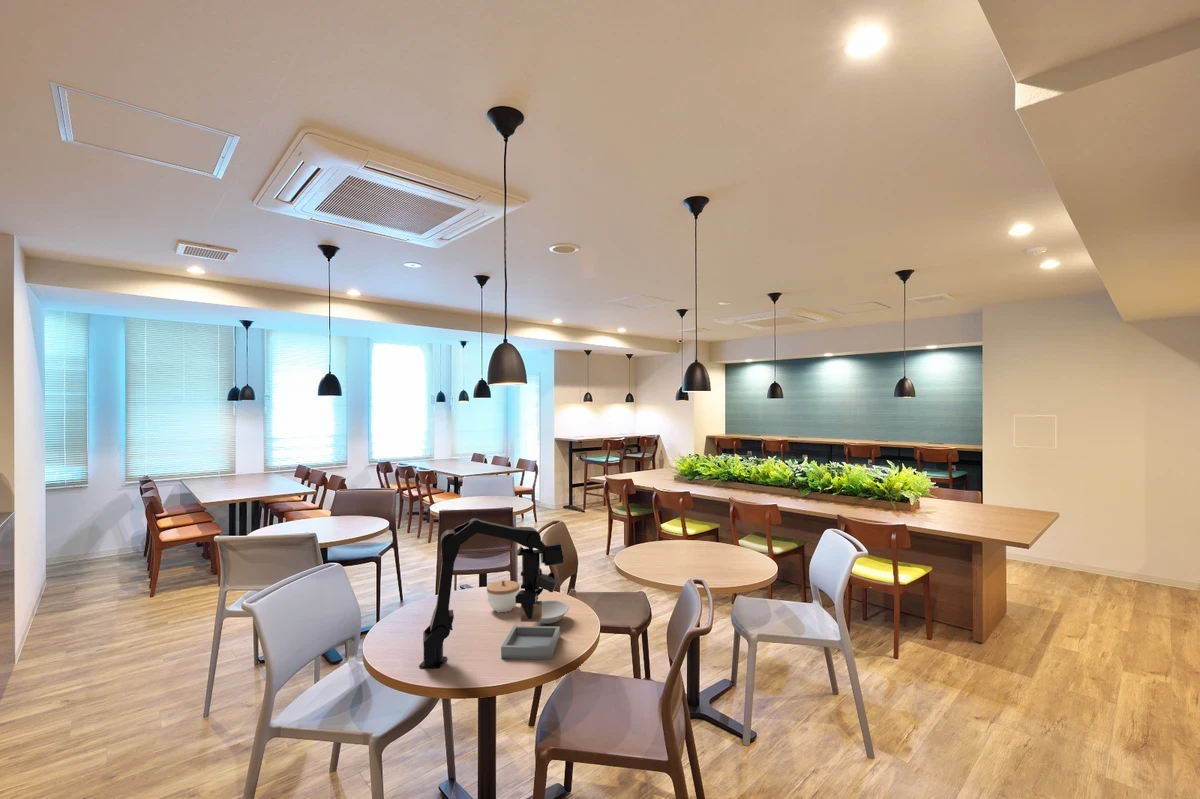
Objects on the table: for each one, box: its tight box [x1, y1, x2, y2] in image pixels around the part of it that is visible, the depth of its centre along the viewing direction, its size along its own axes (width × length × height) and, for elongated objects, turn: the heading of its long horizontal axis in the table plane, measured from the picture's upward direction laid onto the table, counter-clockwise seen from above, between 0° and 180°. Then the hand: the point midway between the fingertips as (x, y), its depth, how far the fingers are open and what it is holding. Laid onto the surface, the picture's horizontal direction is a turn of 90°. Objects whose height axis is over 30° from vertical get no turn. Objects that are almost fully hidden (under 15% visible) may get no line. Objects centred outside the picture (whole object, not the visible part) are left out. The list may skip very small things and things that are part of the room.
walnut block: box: [520, 600, 543, 623], centre depth 168 cm, size 4×6×5 cm
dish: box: [538, 599, 570, 625], centre depth 187 cm, size 18×14×5 cm
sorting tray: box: [500, 625, 561, 660], centre depth 168 cm, size 16×16×4 cm
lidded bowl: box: [486, 579, 521, 613], centre depth 201 cm, size 13×13×11 cm
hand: (531, 615), depth 168 cm, fingers closed on walnut block, 4 cm apart
